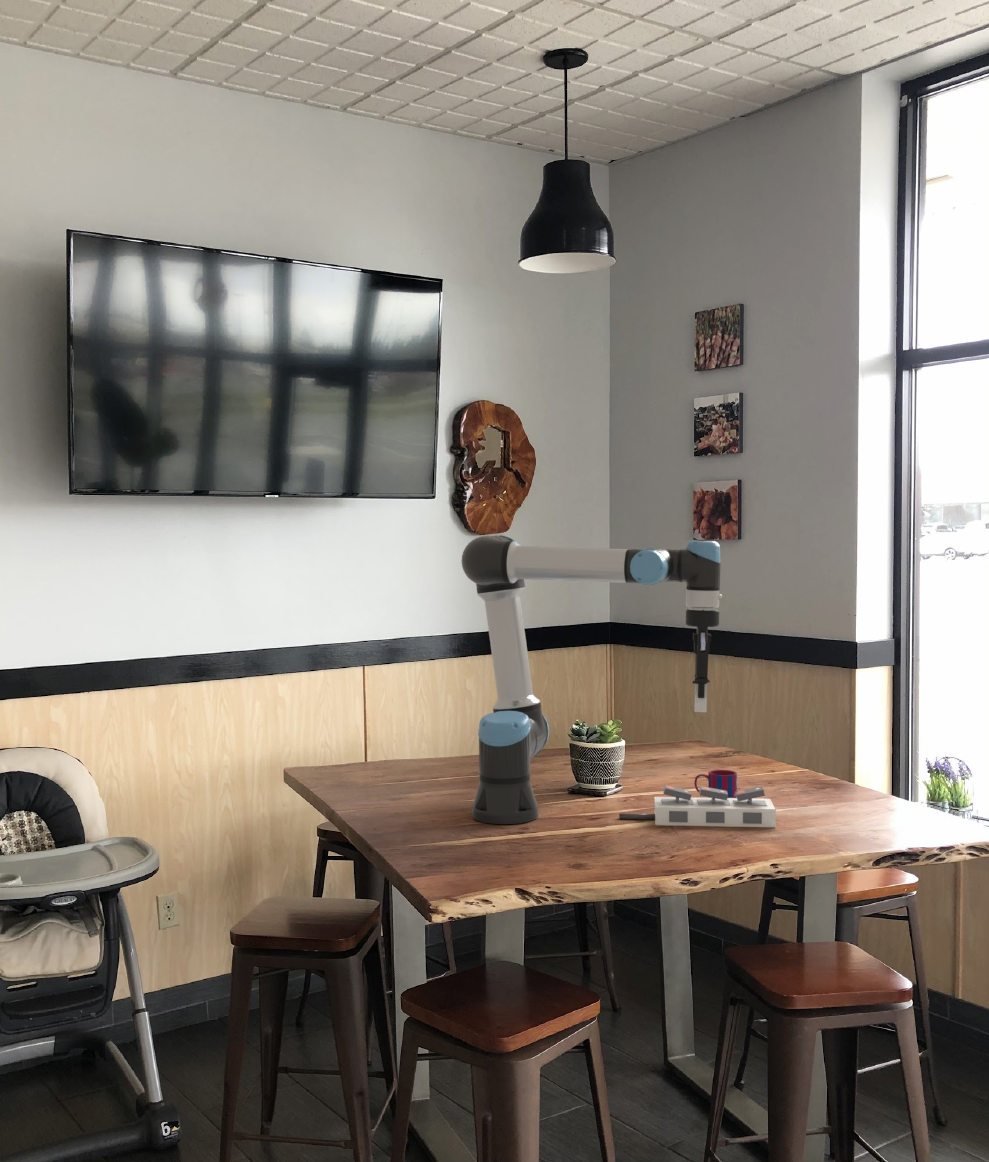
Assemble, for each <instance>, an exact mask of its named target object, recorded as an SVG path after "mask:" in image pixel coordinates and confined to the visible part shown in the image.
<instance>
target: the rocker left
mask: <svg viewBox="0 0 989 1162" xmlns="http://www.w3.org/2000/svg"><path fill="white" fill-rule="evenodd" d="M662 791H663V795H665V796H668V797H677V798H681V799H686V800H690V799H691V797H692V792H691V790H688V789H684V788H679V787H675V786H671V785H667V784H664V786H663V790H662Z"/></svg>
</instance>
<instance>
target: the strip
mask: <svg viewBox="0 0 989 1162" xmlns="http://www.w3.org/2000/svg"><path fill="white" fill-rule="evenodd" d="M653 800H654V802H653V803H654V806H653V807H654V812H653V813H619V814H618V815H619V816H618V819H619V820H654V823H655V826H676V827H677V826H681V827H682V826H686V827H687V826H688V827H727V828H728V827H730V828H731V827H734V828H735V827H736V828H738V827H739V828H743V827H744V828H776V826H777V825H776V823H777V819H776V816H777V814H776V813H777V812H776V811H777V810H776V808H775V806H774V804H773V802H772V800H771V798H752V799H747V800H743V801H738V800H737V798H727V800H721V799H716V798H709V797H693V796H691V799H690V800H686V799H681V798H677V797H673V796H654V798H653Z"/></svg>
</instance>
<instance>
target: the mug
mask: <svg viewBox="0 0 989 1162" xmlns="http://www.w3.org/2000/svg"><path fill="white" fill-rule="evenodd" d="M695 776H696V777H695V779H694V787H695V790H696V791H697V792H698V793H699V789H700V788H699V787H698V785H697V784H698V783H697V782H698V781H697V780H698V778H700V777H705V778H706V779H707V780H708V786H707V787H709V788H714V789H720V790H725V791H727V793H728V798H736V794H735V792H736V791H738V780H737V779H738V772H736V771H734V770H730V769H713V770H709V771H708V775H707V774H705V773H704V774H703V773H701V774H698V775H695ZM708 798H710V797H708Z"/></svg>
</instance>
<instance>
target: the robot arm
mask: <svg viewBox="0 0 989 1162" xmlns="http://www.w3.org/2000/svg"><path fill="white" fill-rule="evenodd" d="M721 563H722V560H721V546H720V544H719V542H717V541H713V540H712V541H711V540H708V541H707V540H704V541H703V540H700V541H699V540H689V541H688V542H687V546H686V548H683V549H672V548H671V549H670V548H669V549H668V548H667V549H666V548H651V547H649V548H648V547H647V548H636V549H635V548H634V549H633V548H629V549H628V548H605V547H604V548H600V547H599V548H598V547H593V548H592V547H572V546H570V547H568V546H567V547H566V546H539V545H538V546H537V545H536V546H533V545H521V544H520V543H519V542H517V541H516V540H515V539H514V538H512V537H509V536H505V535H481V536H479V537H476V538H474V539H472V540H471V541H469V542H468V543H467V545H466V546H465V547H464V549H463V551H462V555H461V567H462V570H463V573H464V574H465V576H466V577H467V578H468V579H469V580H470V581H471V582H473V583H474V584H475V585H476V592H477V593H476V594H477V596H478V597H480V598H481V599H482V600H483V601H484V606H485V612H486V619H487V620H486V621H487V627H488V629H487V630H488V636H489V641H490V650H491V659H492V664H493V672H494V679H495V681H494V682H495V689H496V695H497V700H496V702H495V703H494V705H492V712H490V713H487V714H485V715H484V716H482V717H481V718H480V720H479V724H478V731H477V732H478V733H477V735H478V755H479V756H478V757H479V759H478V761H479V762H478V764H479V765H478V767H479V784H478V787H477V791H476V793H475V797H474V800H473V804H472V806H471V807H472V808H471V812H472V813H471V815H472V816H471V817H472V818H473V820H476V822H477V821H478V822H481V823H486V824H491V825H493V824H495V825H515V824H523V823H527V822H528V823H529V822H532V821H534V820H536V819H538V818H539V805H538V802H537V799H536V797H535V793H534V790H533V787H532V783H531V759H532V758H533V757H536V756H537V755H538V754H540V753H541V752H542V751H543V749H544V748H545V746H546V744H547V742H548V740H549V738H550V737H549V736H550V726H549V722H548V720H547V718H546V717H545V715H544V714H543V711H542V710H543V709H542V704H541V700H540V699H539V698H537V697H536V696H535V694H534V691H533V681H532V676H531V669H530V662H529V653H528V647H527V639H526V638H527V637H526V631H525V625H524V624H525V623H524V616H523V610H522V603H521V602H522V601H521V596H522V595H523V592H524V591H525V590H526V584H525V580H534V581H537V580H538V581H561V582H563V581H564V582H565V581H566V582H591V583H592V582H595V583H596V582H597V583H622V584H623V583H624V584H625V583H626V584H638V585H639V584H642V585H644V586H655V585H656V584H659V583H661V582H662V583H685V584H686V587H685V588H686V589H685V606H686V608H687V609H686V610H685V625H686V626H688V627H693V628H694V627H696V633H692V641H693V652H694V654H695V659H694V660H695V661H694V662H695V664H694V665H695V666H694V670H695V671H694V680H692V685H693V684H694V709H693V711H694V713H708V712H707V711H708V709H707V708H708V706H707V705H708V683H710V679H709V678H708V677H709V676H708V671H709V667H708V666H709V654H711V650H710V649H711V642H712V635H711V633H709V628H710V627H711V628H716V627H718V626H720V611H719V610H718V608H719V607H720V600H721V599H722V598H723V594H721V593H720V589H721V569H722V568H721V565H722V564H721ZM719 599H720V600H719Z"/></svg>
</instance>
